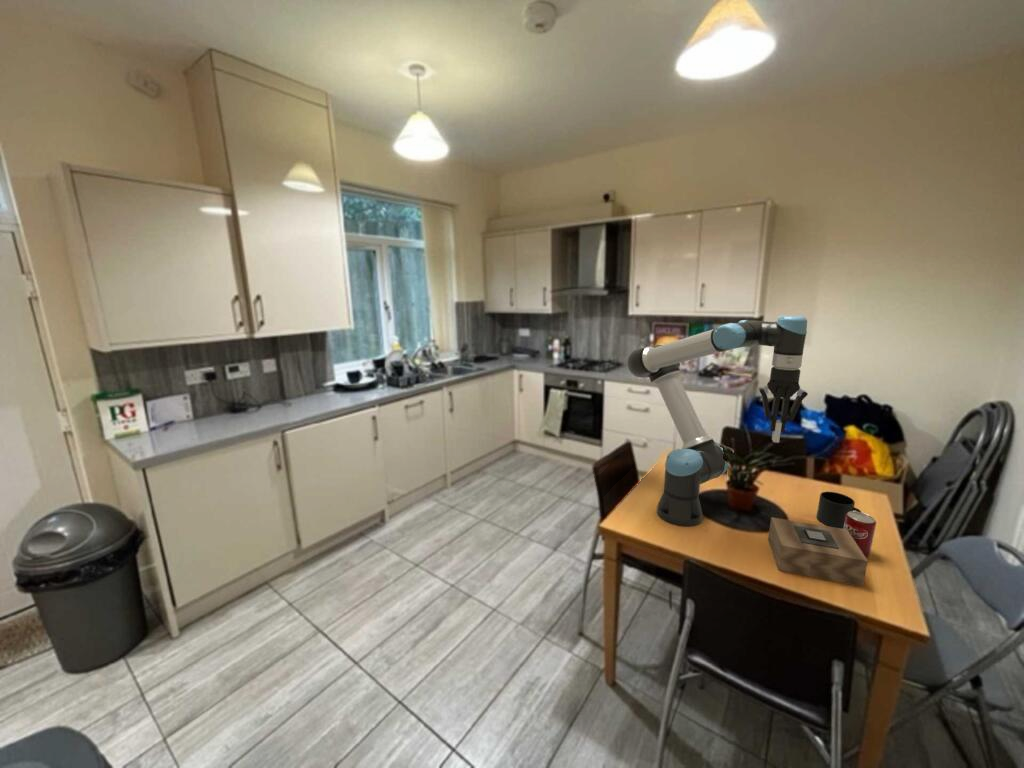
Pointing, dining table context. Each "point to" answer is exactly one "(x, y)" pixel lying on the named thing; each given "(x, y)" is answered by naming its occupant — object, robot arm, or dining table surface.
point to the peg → (815, 536)
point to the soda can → (861, 529)
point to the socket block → (817, 552)
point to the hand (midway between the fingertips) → (775, 440)
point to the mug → (834, 508)
